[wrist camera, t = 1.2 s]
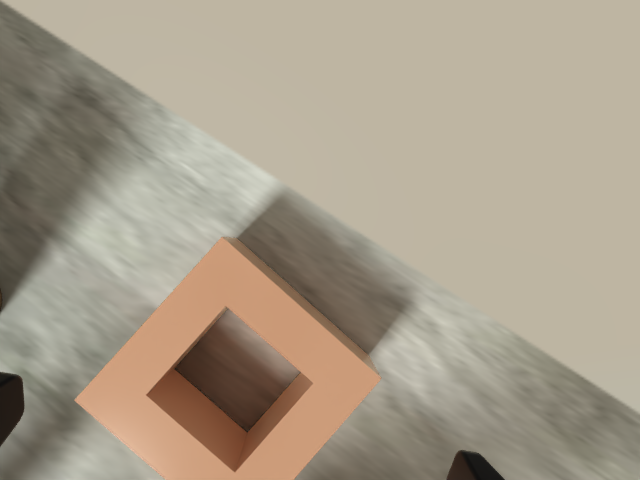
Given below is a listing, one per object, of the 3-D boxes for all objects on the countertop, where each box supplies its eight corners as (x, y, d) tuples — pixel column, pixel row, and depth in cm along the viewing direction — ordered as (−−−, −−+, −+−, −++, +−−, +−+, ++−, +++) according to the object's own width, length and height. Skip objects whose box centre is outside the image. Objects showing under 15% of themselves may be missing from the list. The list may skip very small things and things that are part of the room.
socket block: (250, 490, 23) (238, 542, 19) (115, 372, 23) (74, 400, 19) (368, 355, 23) (381, 378, 19) (236, 238, 23) (222, 236, 19)
